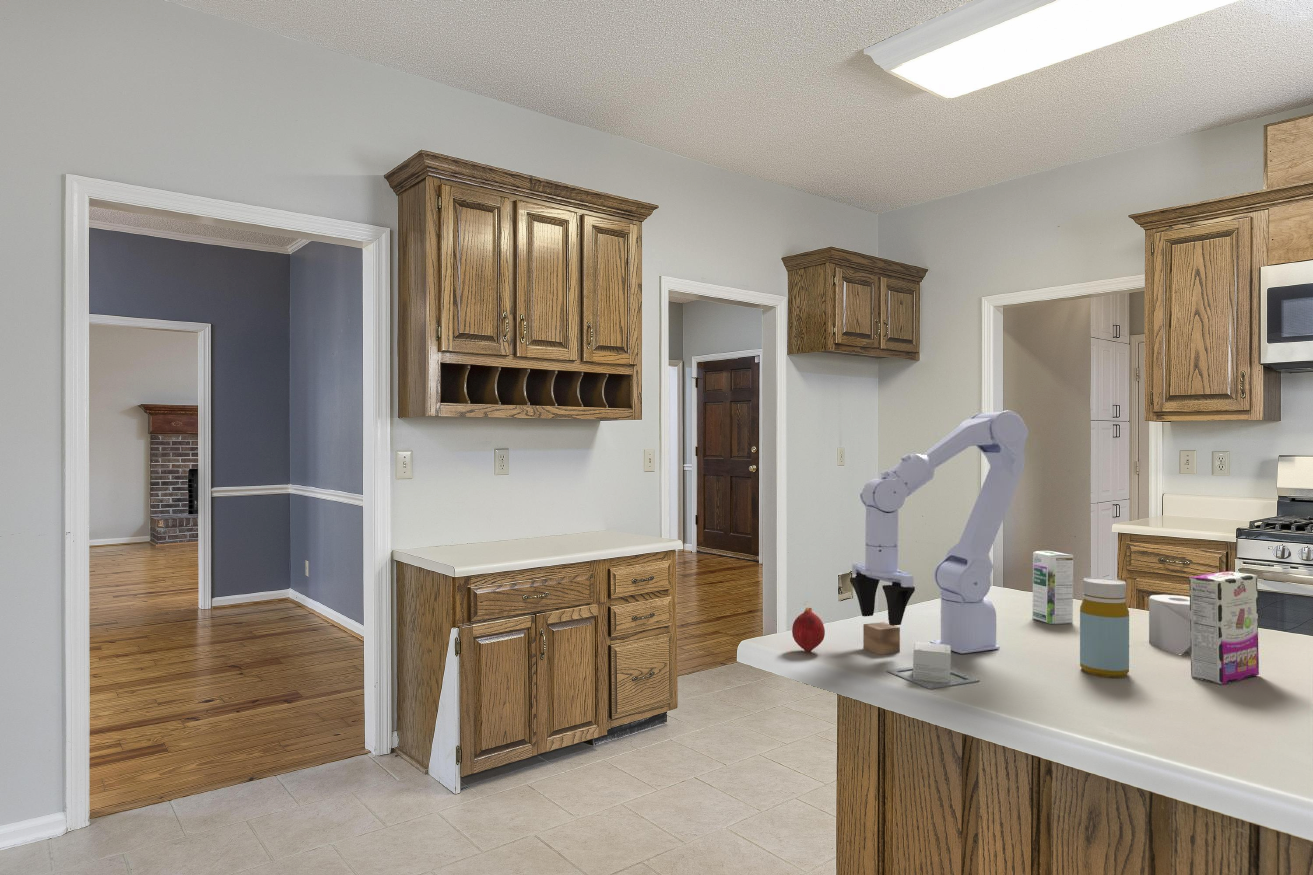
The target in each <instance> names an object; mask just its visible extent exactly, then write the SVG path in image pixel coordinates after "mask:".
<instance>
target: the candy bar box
mask: <svg viewBox="0 0 1313 875" xmlns="http://www.w3.org/2000/svg"><path fill="white" fill-rule="evenodd" d="M1188 579H1189V597H1190V628H1191V630H1190V637H1191V652H1190V676H1191V677H1192V678H1194V679H1196V678H1199V679H1198V680H1200V679H1203V680H1202V681H1205V680H1206V681H1205V682H1209V683H1213V682H1214V683H1215V684H1218V683H1219V684H1218V685H1226V683H1227V684H1230V683H1229V682H1231V683H1233V682H1238V681H1241V680H1245V678H1246V679H1249V678H1252V677H1256V676H1259V675H1260V671H1259V670H1260V669H1259V668H1260V666H1259V665H1260V662H1259V657H1260V656H1259V653H1260V652H1259V617H1258V616H1259V612H1258V611H1259V610H1258V607H1259V605H1258V575H1257V574H1251V573H1245V572H1239V571H1237V572H1236V571H1221V572H1213V573H1207V574H1201V575H1195V576H1189V578H1188Z"/></svg>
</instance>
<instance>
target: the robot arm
mask: <svg viewBox="0 0 1313 875" xmlns="http://www.w3.org/2000/svg"><path fill="white" fill-rule="evenodd" d="M1028 435H1029V430H1028V428H1027V426H1026V423H1025V422H1024V419H1023V418H1022V416H1021V415H1020V414H1018V413H1017V412H1014V411H1012V410H1004V411H1001V412H1000V411H997V412H977V413H975V414H974V415H972V416H971V417H970V418H967V419H965V420H963V421H962V422H961V423H960V424H959V425H958V426H956V427H955V429H953V430H952V431H951V432H950V433H948V434H947V435H946V436H944V437H943V438H941V440H939V441H938V442H937V443H936V444H934V445H933V446H932V447H930V448H929V449H928V450H927V451H925V452H924V453H923V454H920V453H911V454H904V455H902V456H901V457H900V459H901V461H900V462H899V463H897V464H896V465H895V466H893V467H892V468H890V469H889V470H883V471H882V472H881V473H880V475H881V476H880V478H872V479H870V480H868V481H867V482H866V483H865V484H864V486H863V488H862V491H861V492H860V494H859V496H860V500H861V503H862V504H863V506H864V507H865V536H864V537H865V540H864V542H865V544H864V546H865V547H864V548H865V549H864V550H865V557H864V559H865V562H864V563H861V562H860V563H852V565H851V570H852V571H851V575H855V576H854V577H849V582H850V584H851V586H852V587H853V590H854V592H855V594H856V596H857V601H858V603H859V609H860V613H861V616H862V617H873V616H874V613H875V608H876V605H875V603H876V596H877V590H878V586H879V583H880V581H883V582H887V583H891V584H884V585H882V590H883V593H884V596H885V601H886V604H887V618H888V624H889V625H892V626H901V625H902V621H903V617H904V615H905V611H906V608H907V605H908V603H909V601H910V598H911V597H912V595H913V594H914V593H915V591H916V587H915V586H914V574H913V575H912V574H910V573H907V572H904V571H902V570H900V569H899V509H901V508H902V507H903V506H904V503H905V501H906V499H907V498H908V497H909V496H910V495H912V494H913V493H915V492H916V491H917V490H919V489H920V488H921V487H923V486H924V485H926V484H927V483H928V482H930V481H931V480H932V479H933V478H934V476H935V470H936V469H937V468H938V467H940V466H941V465H943V464H945V463H946V462H947V461H949V460H951V459H953V458H954V457H955V456H957V455H958V454H961V453H962V452H963V451H965V450H967V449H968V448H969V447H976V448H977V449H978V450H979V451H980V452H981V453H982V454H983V455H984V456H985V458H986V460H987V463H988V464H989V469H988V471H987V474H986V477H985V479H984V482H983V484H982V486H981V488H980V491H979V494H978V496H977V498H976V500H975V502H974V504H973V507H972V510H971V513H970V515H969V517H968V520H967V522H966V524H965V527H964V529H963V532H962V534H961V536H960V539H959V541H958V543H956V544H955V545H953V546H952V547H950V549H948V550H947V553H946V555H945V557H944V558H943V559H942V560H941V561H940V562H938V564H937V565H936V566H935V568H934V571H933V573H934V574H933V579H934V583H935V585H936V586H937V587H938V588H939V589H940V639H935V640H930V642H929V643H934V644H945V645H950V647H951V652H955V653H958V654H969V653H976V652H984V651H991V650H998V649H1001V646H1000V645H998V644H997V611H996V607H995V606H994V604H993V603H992V601H990V599H988V598H987V597H986V596H987V595H988V593H989V592H990V590H991V584H992V583H991V582H992V581H991V580H992V579H991V574H992V571H993V570H994V564H993V561H992V560H991V557H990V552H991V549H992V547H993V546H994V545H993V544H994V542H995V540H996V538H997V535H998V533H999V531H1000V527H1001V525H1002V522H1003V520H1004V518H1005V515H1006V513H1007V511H1008V508H1009V506H1010V503H1011V501H1012V500H1013V496H1014V494H1015V492H1016V489H1017V487H1018V484H1019V482H1020V479H1021V477H1022V474H1023V472H1024V470H1025V465H1026V450H1025V445H1026V444H1025V442H1026V440H1027V437H1028Z"/></svg>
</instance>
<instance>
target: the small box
mask: <svg viewBox="0 0 1313 875" xmlns="http://www.w3.org/2000/svg"><path fill="white" fill-rule="evenodd" d="M913 646H914V647H913V658H912V659H913V660H912V661H913V662H912V667H913V670H912V678H914V679H916V680H918V681H921V682H925V681H926V682H933V683H940V684H942V683H948V682H951V673H950V670H952V669H951V665H952V650H951V647H950V645H945V644H934V643H930V642H923V641H914V644H913Z"/></svg>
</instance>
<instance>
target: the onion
mask: <svg viewBox="0 0 1313 875" xmlns="http://www.w3.org/2000/svg"><path fill="white" fill-rule="evenodd" d="M825 632H826V630H825V626H824V623H823V621H822V620H821V618H820V617H819V616H818V615H817V614H816V613H814V612H813V608H811V606H807V607H805V610H804V611H803V612H802V613H801V614H799V615H798V616H797V617H796V618H795V619H794V621H793V623H792V628H791V634H792V638H793V640H794V642H795V643H796V644H797V646H799V648H801V649H802V650H804V651H805V652H807V653H809V652H812V651H813V650H814V649H816V648H817V647H818V646H820V644H822V642H823V641H824V639H825V634H826V633H825Z"/></svg>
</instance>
